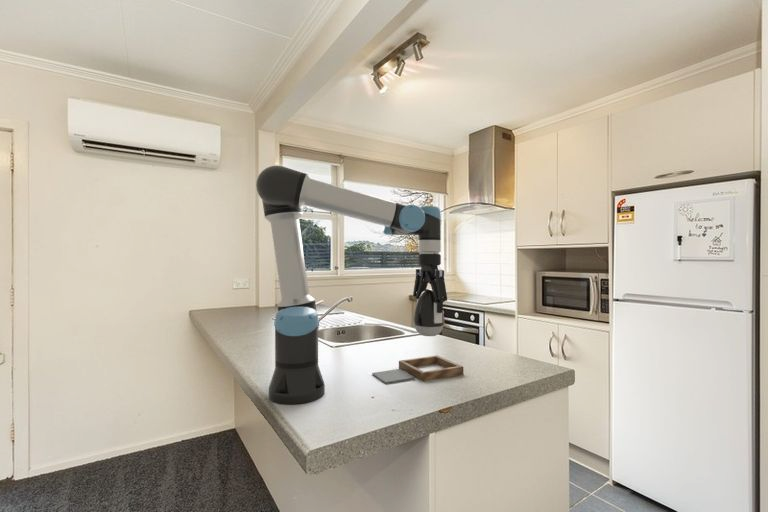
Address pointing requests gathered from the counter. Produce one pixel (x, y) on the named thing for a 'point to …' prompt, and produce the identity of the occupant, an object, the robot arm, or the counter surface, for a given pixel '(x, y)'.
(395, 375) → the pad
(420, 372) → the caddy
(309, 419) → the counter surface
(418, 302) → the pump dispenser
